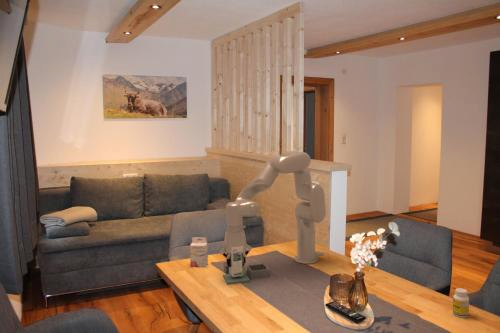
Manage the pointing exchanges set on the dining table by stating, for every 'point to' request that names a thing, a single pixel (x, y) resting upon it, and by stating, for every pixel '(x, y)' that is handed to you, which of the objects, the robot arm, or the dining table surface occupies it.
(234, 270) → the syrup box
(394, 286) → the dining table surface
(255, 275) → the frame
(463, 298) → the supplement bottle
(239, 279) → the mat
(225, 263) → the plunger housing
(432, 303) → the dining table surface
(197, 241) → the ink cartridge box
